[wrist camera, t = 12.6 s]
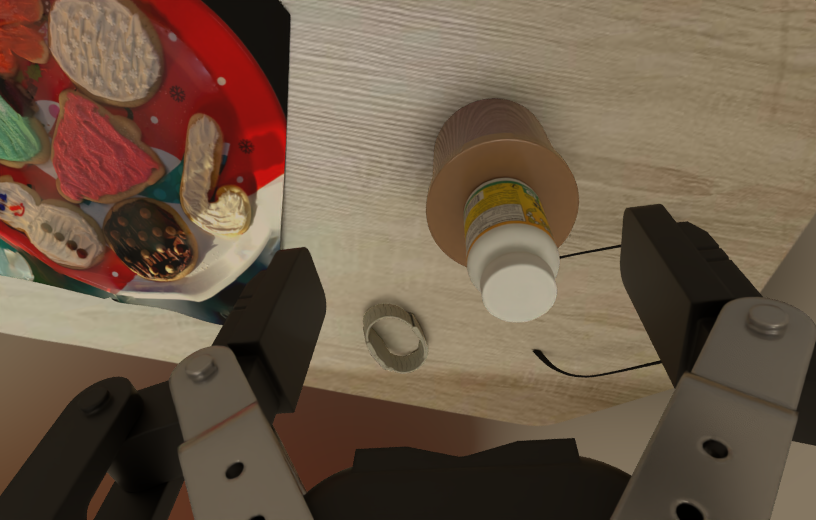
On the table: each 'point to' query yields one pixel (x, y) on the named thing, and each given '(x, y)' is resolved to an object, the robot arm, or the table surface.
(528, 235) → the supplement bottle
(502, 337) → the table surface
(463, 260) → the jar
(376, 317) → the tan oval ring
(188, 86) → the cookie print placemat
